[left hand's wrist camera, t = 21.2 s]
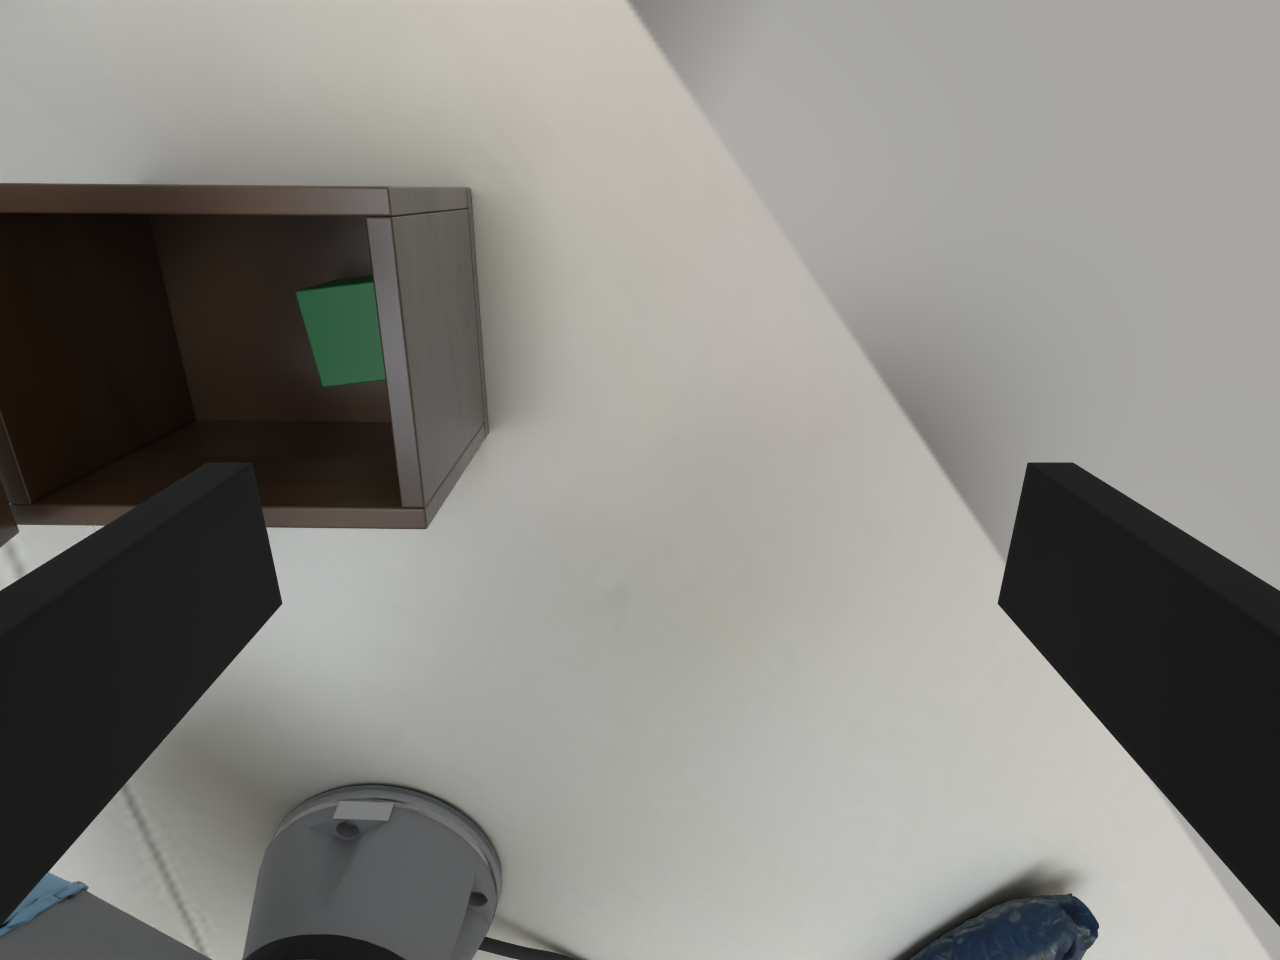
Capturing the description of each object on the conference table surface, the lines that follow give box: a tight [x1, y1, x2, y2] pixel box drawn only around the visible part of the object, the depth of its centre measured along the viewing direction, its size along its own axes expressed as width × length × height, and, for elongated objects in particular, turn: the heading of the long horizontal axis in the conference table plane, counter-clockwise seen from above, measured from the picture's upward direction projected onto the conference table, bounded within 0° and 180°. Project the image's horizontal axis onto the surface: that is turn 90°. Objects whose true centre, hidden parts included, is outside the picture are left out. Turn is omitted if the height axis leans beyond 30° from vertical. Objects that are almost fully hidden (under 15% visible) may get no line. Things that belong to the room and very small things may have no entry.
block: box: [295, 275, 386, 387], centre depth 32 cm, size 4×4×4 cm
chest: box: [0, 183, 489, 529], centre depth 29 cm, size 15×12×11 cm
